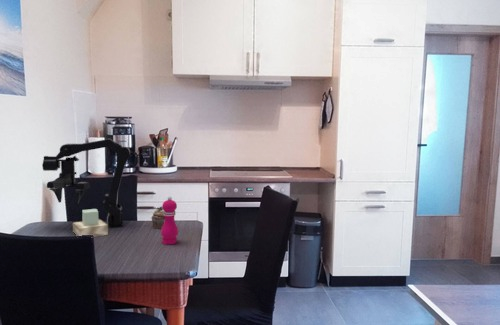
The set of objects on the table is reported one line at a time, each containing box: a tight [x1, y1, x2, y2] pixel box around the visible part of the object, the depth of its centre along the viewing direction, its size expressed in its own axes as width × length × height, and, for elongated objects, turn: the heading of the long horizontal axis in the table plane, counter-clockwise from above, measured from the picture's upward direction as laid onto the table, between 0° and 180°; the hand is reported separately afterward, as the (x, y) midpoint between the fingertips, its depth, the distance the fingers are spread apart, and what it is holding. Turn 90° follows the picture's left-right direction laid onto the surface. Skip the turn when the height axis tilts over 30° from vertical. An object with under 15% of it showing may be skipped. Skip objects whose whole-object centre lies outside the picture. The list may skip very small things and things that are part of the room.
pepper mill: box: [160, 196, 179, 245], centre depth 161 cm, size 7×7×20 cm
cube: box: [81, 208, 99, 226], centre depth 171 cm, size 6×6×6 cm
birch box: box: [72, 218, 109, 238], centre depth 172 cm, size 12×12×5 cm
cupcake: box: [151, 206, 165, 230], centre depth 185 cm, size 10×10×10 cm
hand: (68, 202), depth 179 cm, fingers open, 9 cm apart
